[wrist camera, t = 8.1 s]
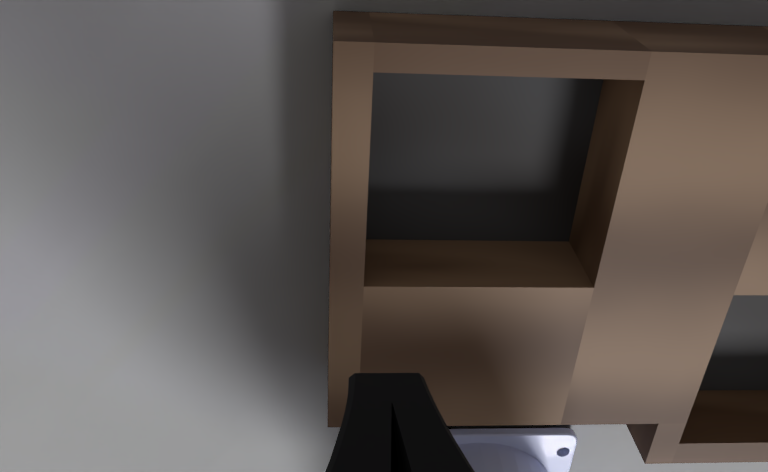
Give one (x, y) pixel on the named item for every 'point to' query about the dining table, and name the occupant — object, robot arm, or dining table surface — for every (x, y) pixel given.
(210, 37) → the dining table surface
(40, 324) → the dining table surface
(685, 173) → the trap board
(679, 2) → the dining table surface
